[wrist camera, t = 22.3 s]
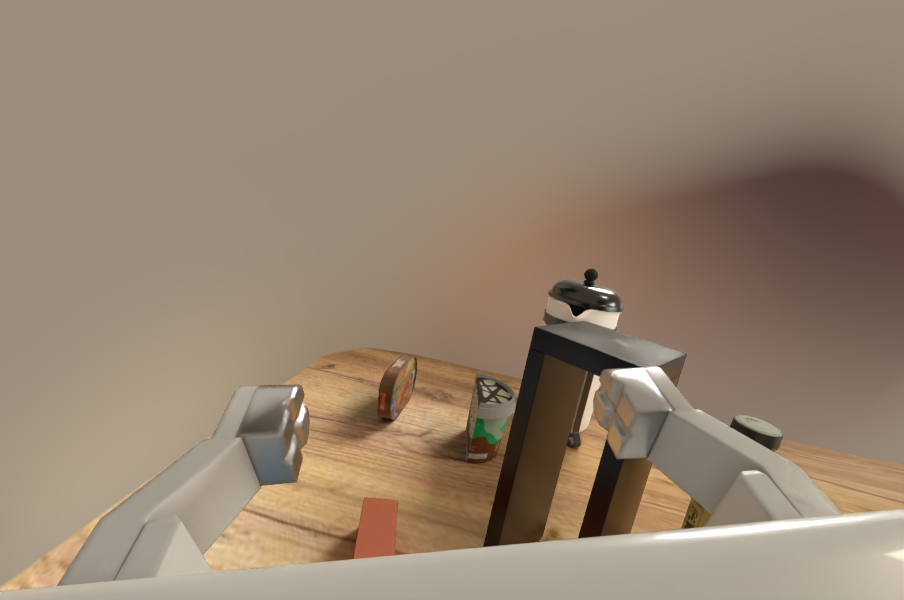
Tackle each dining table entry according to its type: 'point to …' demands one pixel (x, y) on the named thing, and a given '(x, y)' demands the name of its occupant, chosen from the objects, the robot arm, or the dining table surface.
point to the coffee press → (583, 305)
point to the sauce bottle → (751, 429)
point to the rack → (549, 425)
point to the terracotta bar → (376, 529)
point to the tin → (397, 387)
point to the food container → (487, 418)
